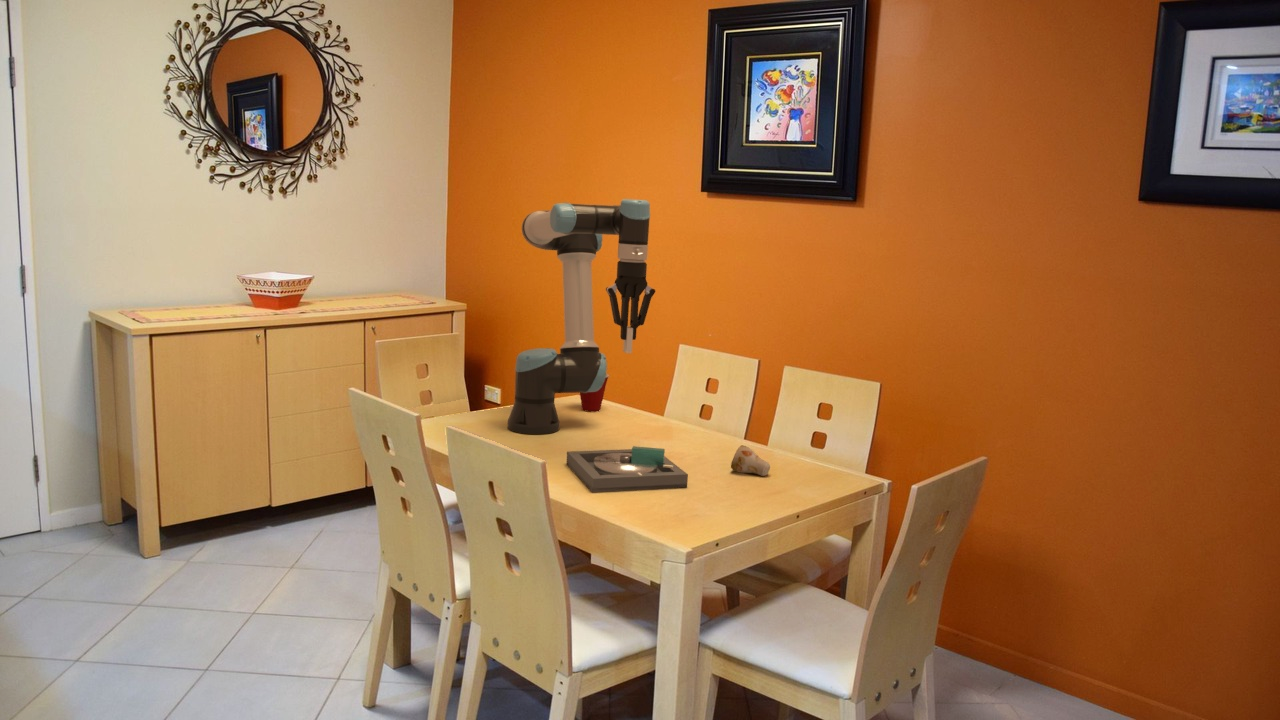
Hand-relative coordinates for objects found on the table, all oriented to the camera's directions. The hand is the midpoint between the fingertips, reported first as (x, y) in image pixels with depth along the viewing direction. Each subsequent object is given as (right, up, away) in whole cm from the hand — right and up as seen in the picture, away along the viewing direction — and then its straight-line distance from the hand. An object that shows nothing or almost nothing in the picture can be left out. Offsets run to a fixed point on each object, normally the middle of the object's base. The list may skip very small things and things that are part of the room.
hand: (627, 352), depth 251 cm
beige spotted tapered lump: (+32, -32, +2) cm, 45 cm away
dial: (0, -30, -7) cm, 31 cm away
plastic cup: (-13, -18, +64) cm, 68 cm away
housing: (0, -31, -7) cm, 32 cm away
